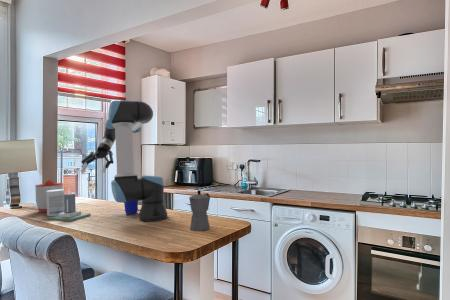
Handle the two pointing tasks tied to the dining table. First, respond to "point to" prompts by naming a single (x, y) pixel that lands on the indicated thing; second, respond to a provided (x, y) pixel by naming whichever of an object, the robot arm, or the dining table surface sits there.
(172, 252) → the dining table surface
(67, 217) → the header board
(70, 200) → the dark grey block
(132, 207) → the mug
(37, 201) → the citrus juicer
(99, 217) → the dining table surface
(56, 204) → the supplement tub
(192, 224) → the coffeepot
